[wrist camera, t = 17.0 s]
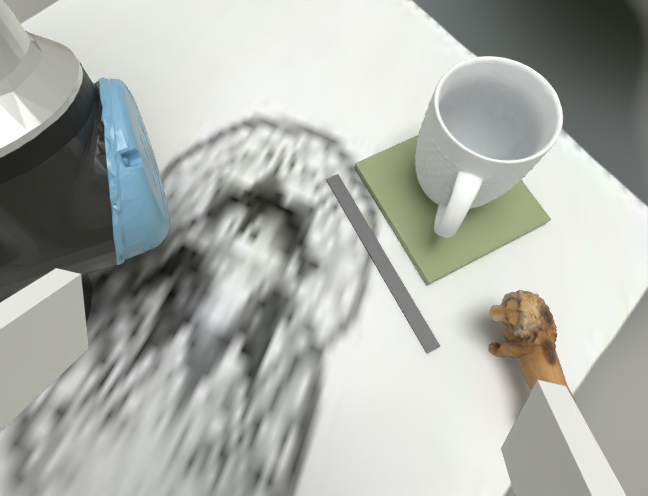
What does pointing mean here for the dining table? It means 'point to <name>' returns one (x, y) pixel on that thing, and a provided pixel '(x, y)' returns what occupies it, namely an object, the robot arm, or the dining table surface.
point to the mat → (420, 211)
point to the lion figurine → (529, 337)
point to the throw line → (384, 265)
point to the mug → (483, 135)
